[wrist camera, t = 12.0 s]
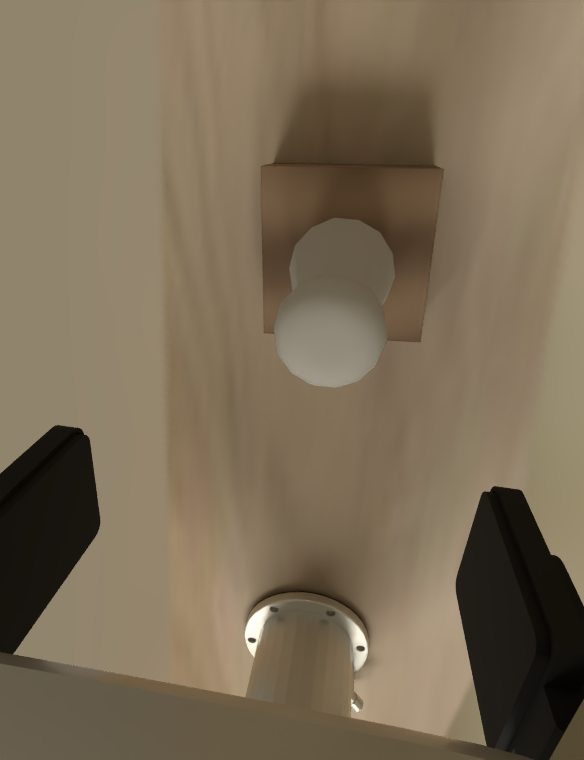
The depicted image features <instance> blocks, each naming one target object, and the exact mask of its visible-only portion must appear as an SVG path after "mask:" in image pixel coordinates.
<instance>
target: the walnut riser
mask: <svg viewBox="0 0 584 760" xmlns="http://www.w3.org/2000/svg"><path fill="white" fill-rule="evenodd" d="M443 170H444V169H442V168H439V167H437V166H419V165H356V164H293V163H272V164H268V165H264V166H261V196H262V253H263V310H264V333H270V334H274V326H275V322H276V319H277V315H278V311H279V308H280V304H281V303H282V301H283V300H284V299H285V298H286V297H287V296H288V295H289V294H290V293H291V292H292V291H293V290H292V284H291V277H290V271H289V267H290V263H291V259H292V255H293V251H294V248H295V245H296V244H297V243H298V242H299V241H300V239H301V238H302V237H303V236H304V235H305V234H306V233H307V232H308V231H309V230H310V229H311V228H312V227H314V226H316V225H319V224H321V223H323V222H325V221H328V220H330V219H332V218H343V219H353V220H360V221H361V222H363V223H365V224H367V225H368V226H370V227H372V228H373V229H375V230H377V231H379V232H380V233H381V235H382V236H383V238H384V240H385V241H386V243H387V245H388V246H389V248H390V250H391V251H392V253H393V261H394V272H395V278H394V281H393V283H392V286H391V289H390V291H389V294H388V296H387V299H386V300H385V302H384V304H383V305H382V307H383V309H384V312H385V319H386V329H387V340H390V341H407V342H421V334H422V327H423V319H424V312H425V304H426V297H427V290H428V282H429V275H430V267H431V260H432V252H433V245H434V237H435V230H436V223H437V215H438V208H439V200H440V193H441V185H442V178H443Z"/></svg>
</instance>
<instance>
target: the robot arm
mask: <svg viewBox="0 0 584 760" xmlns="http://www.w3.org/2000/svg"><path fill="white" fill-rule="evenodd" d="M99 527H100V514H99V507H98V499H97V491H96V484H95V476H94V468H93V461H92V453H91V446H90V440H89V437H88V436H87V435H84V433H83V431H82V429H80V428H74V427H66V426H60V425H57V426H54V427H53V428H51V429H50V430H49V431H48V432H47V433H46V434H45V435H43V436H42V437H41V438H40V439H39V440H38V441H37V442H35V443H34V444H33V445H32V446H31V447H30V448H29V449H28V450H26V451H25V452H24V453H23V454H22V455H21V456H20V457H19V458H17V459H16V460H15V461H14V462H13V463H12V464H11V465H10V466H8V467H7V468H6V469H5V470H4V471H3V472H2V473H1V474H0V760H584V606H583V604H582V602H581V599H580V597H579V595H578V593H577V591H576V589H575V587H574V585H573V582H572V580H571V578H570V576H569V574H568V572H567V570H566V568H565V566H564V564H563V562H562V561H561V559H560V558H559V557H557V556H555V555H551V554H550V552H549V549H548V547H547V545H546V543H545V541H544V538H543V536H542V534H541V532H540V530H539V527H538V525H537V523H536V521H535V519H534V516H533V514H532V512H531V510H530V507H529V505H528V503H527V501H526V498H525V496H524V494H523V492H522V491H521V490H518V489H511V488H504V487H496V486H494V487H492V489H491V491H490V492H486V491H485V492H483V493H482V495H481V498H480V501H479V505H478V508H477V511H476V514H475V518H474V521H473V524H472V528H471V531H470V534H469V538H468V541H467V544H466V548H465V551H464V554H463V558H462V561H461V564H460V568H459V571H458V574H457V578H456V595H457V600H458V605H459V610H460V615H461V620H462V625H463V630H464V635H465V640H466V645H467V650H468V655H469V660H470V665H471V670H472V675H473V680H474V685H475V690H476V695H477V700H478V705H479V710H480V715H481V720H482V725H483V730H484V735H485V740H486V744H487V746H483V745H479V744H475V743H471V742H466V741H461V740H457V739H452V738H447V737H442V736H438V735H433V734H428V733H424V732H419V731H414V730H409V729H405V728H400V727H395V726H390V725H385V724H380V723H375V722H370V721H365V720H359V719H354V718H351V709H352V710H353V711H354V712H359V711H360V710H361V709H362V707H363V700H362V699H361V698H360V697H359V696H358V695H357V694H356V693H355V692H354V673H355V672H357V671H358V670H359V669H360V668H361V667H362V666H363V665H364V663H365V661H366V659H367V656H368V651H369V638H368V634H367V630H366V628H365V626H364V624H363V622H362V621H361V620H360V619H359V618H358V616H357V615H356V614H355V613H353V612H352V611H351V610H350V609H349V608H347V607H346V606H344V605H342V604H341V603H339V602H337V601H335V600H332V599H330V598H328V597H325V596H321V595H317V594H312V593H305V592H289V593H283V594H278V595H275V596H272V597H269V598H267V599H265V600H263V601H261V602H260V603H259V604H257V605H256V606H255V607H254V608H253V609H252V611H251V612H250V614H249V616H248V619H247V622H246V626H245V631H244V637H245V642H246V645H247V647H248V649H249V651H250V652H251V654H252V655H253V657H254V661H253V666H252V670H251V675H250V679H249V684H248V688H247V693H246V697H240V696H235V695H230V694H224V693H219V692H214V691H209V690H203V689H198V688H193V687H187V686H182V685H177V684H171V683H166V682H160V681H155V680H150V679H145V678H139V677H133V676H128V675H123V674H117V673H112V672H107V671H101V670H95V669H90V668H85V667H79V666H74V665H68V664H63V663H57V662H51V661H46V660H41V659H35V658H30V657H24V656H19V655H13V653H14V652H15V651H16V649H17V648H18V646H19V645H20V644H21V642H22V641H23V639H24V638H25V636H26V635H27V634H28V632H29V631H30V629H31V628H32V626H33V625H34V624H35V622H36V621H37V619H38V618H39V616H40V615H41V613H42V612H43V611H44V609H45V608H46V606H47V605H48V603H49V602H50V601H51V599H52V598H53V596H54V595H55V594H56V592H57V591H58V589H59V588H60V586H61V585H62V584H63V582H64V581H65V579H66V578H67V576H68V575H69V574H70V572H71V571H72V569H73V568H74V566H75V565H76V564H77V562H78V561H79V559H80V558H81V556H82V555H83V554H84V552H85V551H86V549H87V548H88V546H89V545H90V544H91V542H92V541H93V539H94V538H95V536H96V535H97V533H98V530H99Z"/></svg>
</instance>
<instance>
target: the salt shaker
mask: <svg viewBox="0 0 584 760" xmlns="http://www.w3.org/2000/svg"><path fill="white" fill-rule="evenodd" d="M289 271H290V277H291V284H292V290H293V291H292V292H291V293H290V294H289V295H288V296H287V297H286V298H285V299H284V300H283V301H282V303H281V304H280V308H279V311H278V315H277V319H276V322H275V326H274V334H275V340H276V345H277V351H278V356H279V357H280V358H281V359H282V361H283V362H284V363H285V365H286V366H287V367H288V369H289V370H290V371H291V373H292V374H294V375H296V376H297V377H299V378H301V379H302V380H304V381H306V382H308V383H309V384H311V385H314V386H324V387H334V388H337V387H340V386H344V385H347V384H351V383H354V382H357V381H359V380H361V379H362V378H363V377H364V376H365V375H366V374H367V373H368V372H369V371H370V370H372V369H373V368H374V367H375V366H376V364H377V362H378V360H379V357H380V355H381V352H382V350H383V348H384V345H385V343H386V340H387V329H386V319H385V312H384V309H383V307H382V305H383V304H384V302H385V300H386V299H387V296H388V294H389V291H390V289H391V286H392V283H393V281H394V278H395V272H394V261H393V253H392V251H391V250H390V248H389V246H388V245H387V243H386V241H385V240H384V238H383V236H382V235H381V233H380V232H379V231H377V230H375V229H373V228H372V227H370V226H368V225H367V224H365V223H363V222H361V221H360V220H353V219H343V218H332V219H330V220H328V221H325V222H323V223H321V224H319V225H316V226H314V227H312V228H311V229H310V230H309V231H308V232H307V233H306V234H305V235H304V236H303V237H302V238H301V239H300V241H299V242H298V243H297V244H296V245H295V248H294V251H293V255H292V259H291V263H290V267H289Z"/></svg>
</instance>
